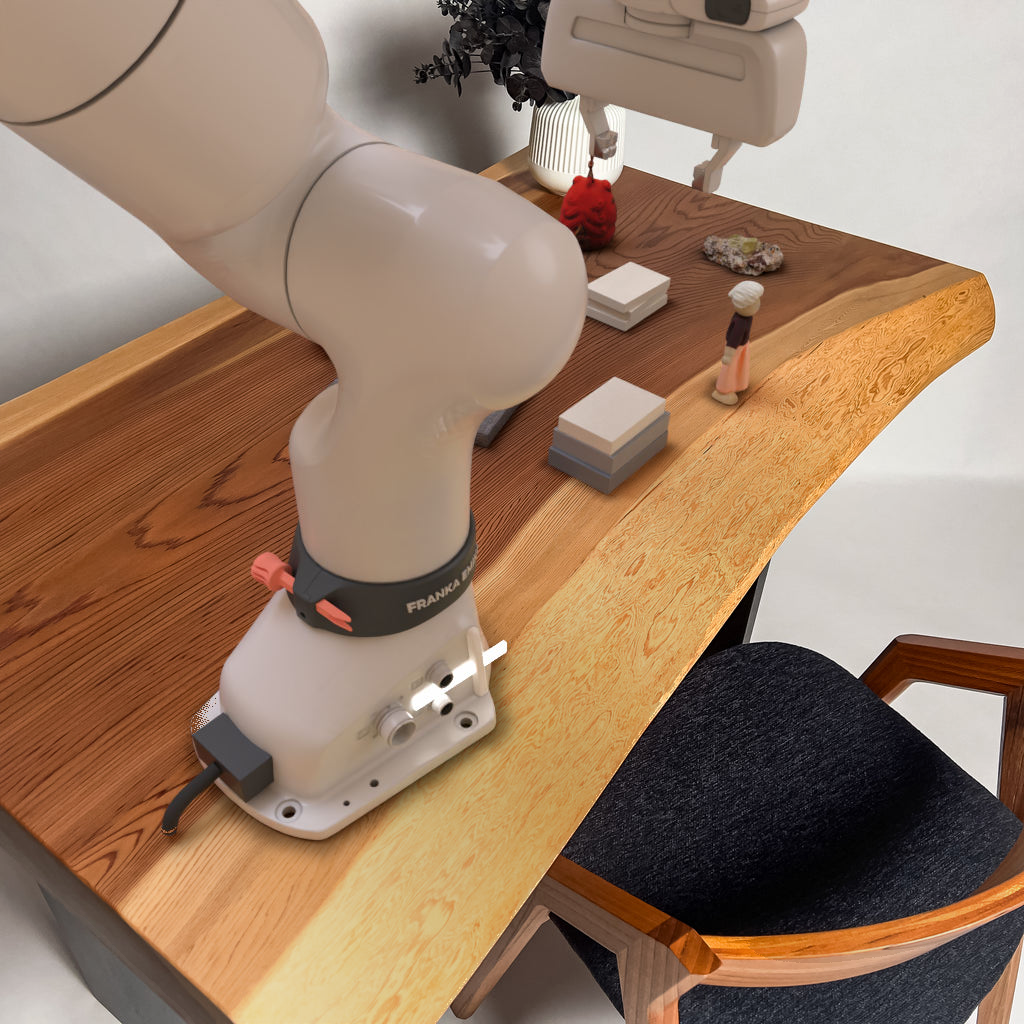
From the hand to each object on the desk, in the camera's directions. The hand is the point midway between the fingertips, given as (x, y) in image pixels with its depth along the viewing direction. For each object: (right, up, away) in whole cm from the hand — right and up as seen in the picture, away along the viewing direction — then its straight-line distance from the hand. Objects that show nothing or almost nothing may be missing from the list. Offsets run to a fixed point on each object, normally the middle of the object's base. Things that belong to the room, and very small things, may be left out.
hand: (652, 172), depth 74 cm
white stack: (+3, -2, +41) cm, 41 cm away
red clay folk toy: (-1, +10, +54) cm, 55 cm away
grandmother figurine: (+12, -13, +29) cm, 34 cm away
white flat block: (-1, -18, +17) cm, 24 cm away
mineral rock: (+19, +7, +52) cm, 56 cm away
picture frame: (-19, -14, +27) cm, 35 cm away
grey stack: (-1, -21, +19) cm, 28 cm away
